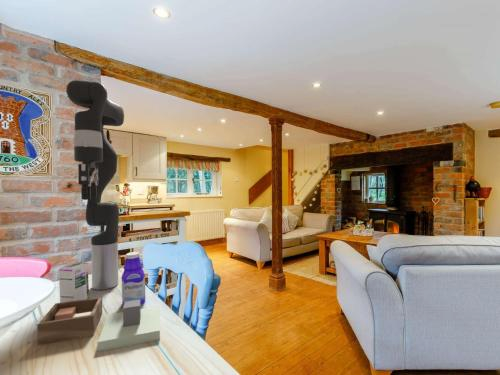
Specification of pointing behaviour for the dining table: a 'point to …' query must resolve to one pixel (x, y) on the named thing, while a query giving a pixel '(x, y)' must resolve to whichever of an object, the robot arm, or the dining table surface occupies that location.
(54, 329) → the box
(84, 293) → the syrup box
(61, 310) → the terracotta cube
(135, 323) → the lid
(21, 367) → the dining table surface
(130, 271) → the bottle
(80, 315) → the cream cube
